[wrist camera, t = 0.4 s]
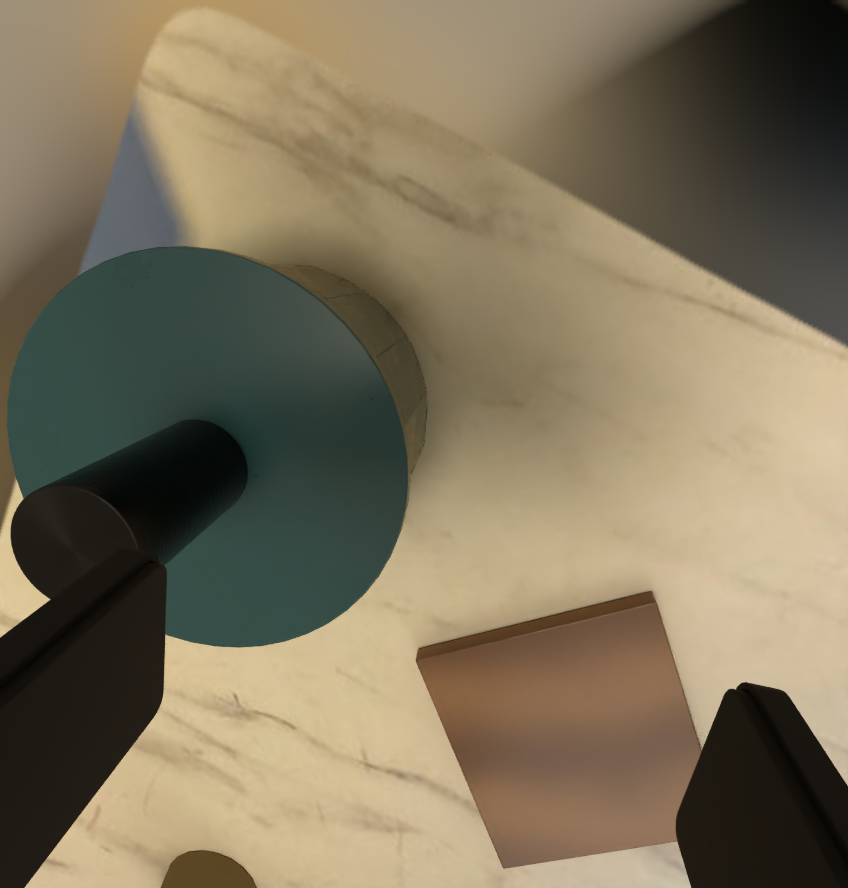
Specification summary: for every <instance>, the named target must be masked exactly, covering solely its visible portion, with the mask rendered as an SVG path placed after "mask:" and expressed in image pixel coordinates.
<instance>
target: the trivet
mask: <svg viewBox="0 0 848 888" xmlns="http://www.w3.org/2000/svg"><path fill="white" fill-rule="evenodd" d="M416 663H417V665H418V667H419V670H420V672H421V675H422V677H423V679H424V682H425V684H426V686H427V689H428V691H429V694H430V696H431V698H432V701H433V703H434V705H435V708H436V710H437V712H438V715H439V717H440V720H441V722H442V724H443V727H444V729H445V731H446V734H447V736H448V739H449V741H450V743H451V746H452V748H453V750H454V753H455V755H456V758H457V760H458V762H459V765H460V767H461V769H462V772H463V774H464V776H465V779H466V781H467V784H468V786H469V788H470V791H471V793H472V795H473V798H474V800H475V803H476V805H477V807H478V810H479V812H480V814H481V817H482V819H483V822H484V824H485V826H486V829H487V831H488V833H489V836H490V838H491V840H492V843H493V845H494V848H495V850H496V852H497V855H498V857H499V859H500V862H501V864H502V867H503V868H504V869H505V868H511V867H517V866H524V865H530V864H536V863H543V862H549V861H555V860H562V859H568V858H574V857H581V856H587V855H594V854H600V853H606V852H613V851H619V850H625V849H632V848H638V847H644V846H651V845H657V844H663V843H670V842H676V841H677V837H676V816H677V812H678V810H679V807H680V805H681V802H682V800H683V797H684V794H685V792H686V789H687V787H688V784H689V782H690V779H691V777H692V774H693V772H694V769H695V767H696V764H697V762H698V759H699V757H700V754H701V752H702V751H701V747H700V744H699V741H698V737H697V734H696V731H695V728H694V724H693V721H692V718H691V714H690V711H689V708H688V704H687V701H686V698H685V695H684V691H683V688H682V685H681V681H680V678H679V675H678V672H677V668H676V665H675V662H674V658H673V655H672V652H671V649H670V645H669V642H668V639H667V635H666V632H665V629H664V626H663V622H662V619H661V616H660V612H659V609H658V606H657V603H656V600H655V598H654V596H653V594H652V592H647V593H643V594H639V595H635V596H631V597H627V598H623V599H619V600H615V601H611V602H607V603H603V604H599V605H595V606H591V607H587V608H583V609H578V610H574V611H570V612H566V613H562V614H558V615H554V616H550V617H546V618H542V619H538V620H534V621H530V622H526V623H522V624H518V625H514V626H510V627H506V628H501V629H497V630H493V631H489V632H485V633H481V634H477V635H473V636H469V637H465V638H461V639H457V640H453V641H449V642H445V643H441V644H437V645H433V646H429V647H424V648H420V649H418V652H417V657H416Z"/></svg>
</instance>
